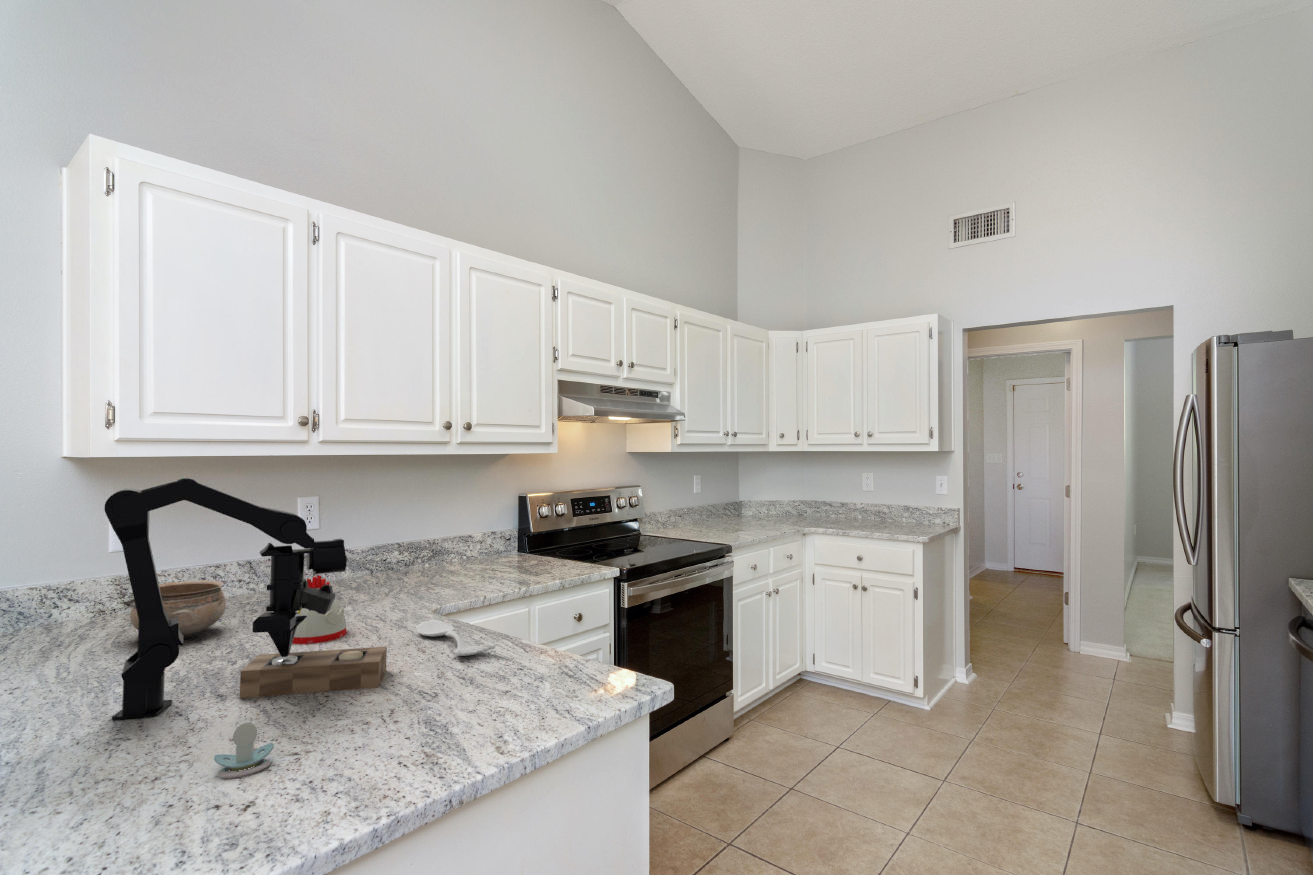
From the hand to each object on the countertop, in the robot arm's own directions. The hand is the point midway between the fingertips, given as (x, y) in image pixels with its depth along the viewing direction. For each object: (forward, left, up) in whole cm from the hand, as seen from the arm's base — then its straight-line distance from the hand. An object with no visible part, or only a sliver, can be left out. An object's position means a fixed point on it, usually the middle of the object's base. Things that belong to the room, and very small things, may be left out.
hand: (285, 656), depth 124 cm
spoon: (+21, -30, -6) cm, 37 cm away
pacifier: (-35, -4, -6) cm, 36 cm away
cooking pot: (+42, +35, -6) cm, 55 cm away
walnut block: (0, -6, -6) cm, 8 cm away
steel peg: (0, 0, -6) cm, 6 cm away
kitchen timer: (+36, +3, -6) cm, 37 cm away
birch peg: (0, -12, -6) cm, 13 cm away
